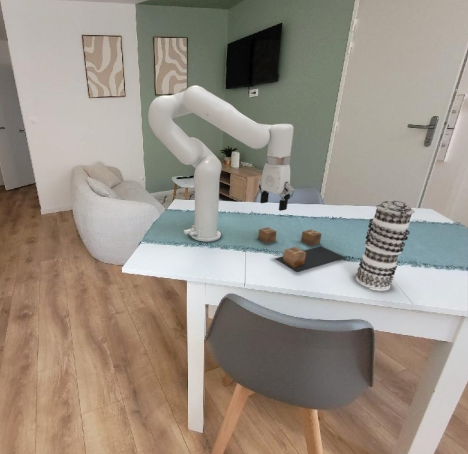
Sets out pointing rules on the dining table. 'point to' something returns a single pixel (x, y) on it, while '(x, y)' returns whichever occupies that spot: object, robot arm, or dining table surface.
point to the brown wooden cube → (294, 257)
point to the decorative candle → (384, 244)
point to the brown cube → (267, 235)
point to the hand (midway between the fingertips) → (272, 206)
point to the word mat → (314, 258)
